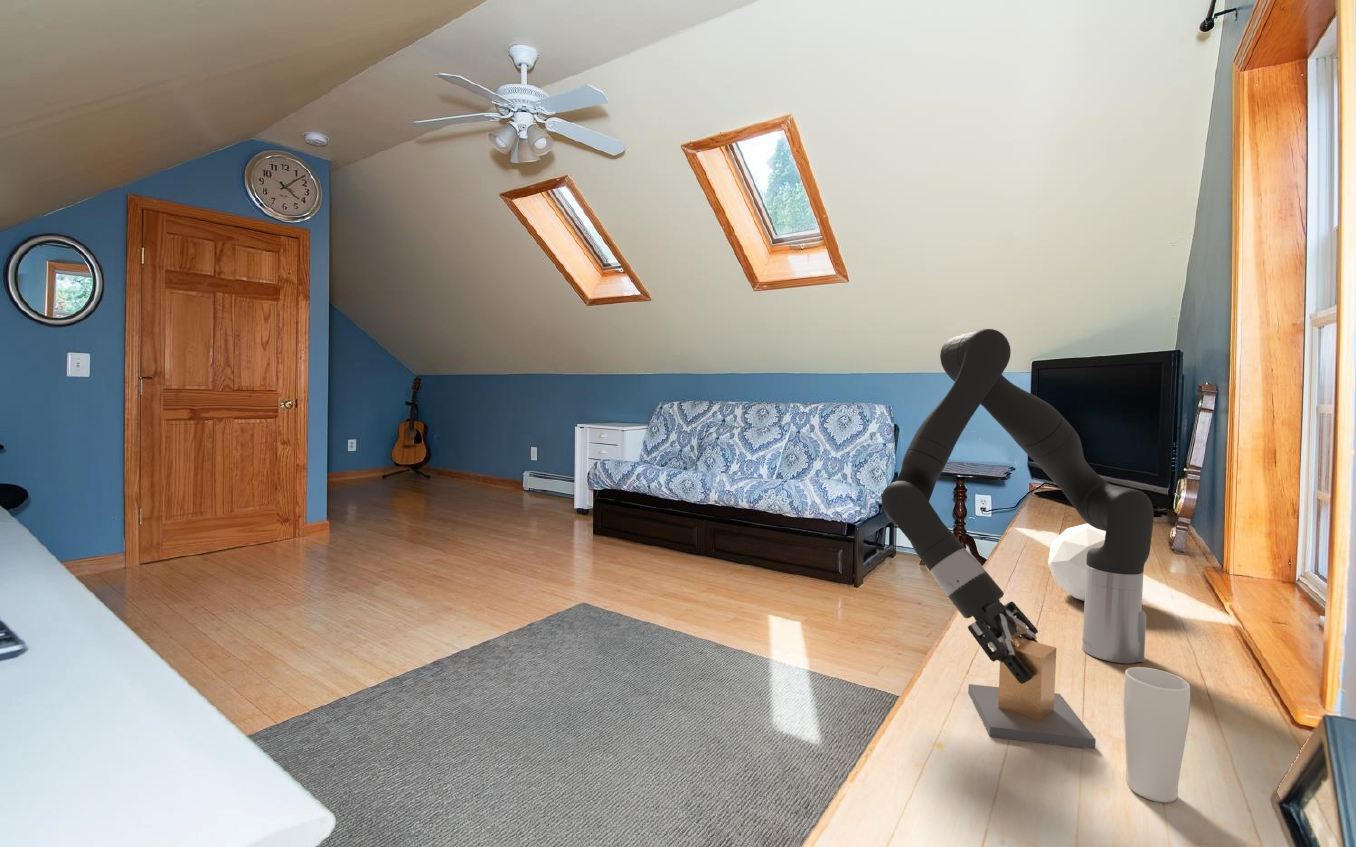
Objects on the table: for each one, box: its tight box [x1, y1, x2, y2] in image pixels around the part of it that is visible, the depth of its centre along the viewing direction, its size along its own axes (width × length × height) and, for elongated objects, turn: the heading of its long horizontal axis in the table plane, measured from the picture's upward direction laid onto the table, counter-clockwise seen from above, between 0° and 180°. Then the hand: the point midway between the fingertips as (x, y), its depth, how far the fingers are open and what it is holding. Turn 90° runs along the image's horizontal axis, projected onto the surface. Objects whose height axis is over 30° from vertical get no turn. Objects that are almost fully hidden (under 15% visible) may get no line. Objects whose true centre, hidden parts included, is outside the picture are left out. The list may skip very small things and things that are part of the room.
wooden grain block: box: [998, 636, 1057, 723], centre depth 98 cm, size 6×6×10 cm
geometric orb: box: [1047, 522, 1106, 602], centre depth 155 cm, size 19×20×20 cm
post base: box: [968, 683, 1097, 750], centre depth 98 cm, size 14×14×8 cm
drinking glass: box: [1122, 666, 1191, 804], centre depth 80 cm, size 7×7×15 cm
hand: (1037, 672), depth 97 cm, fingers open, 8 cm apart
